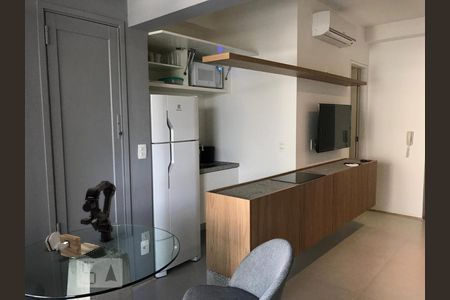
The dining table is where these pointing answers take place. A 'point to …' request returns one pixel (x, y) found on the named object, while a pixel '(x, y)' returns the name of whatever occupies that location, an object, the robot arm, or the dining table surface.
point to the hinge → (53, 241)
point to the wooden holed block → (64, 245)
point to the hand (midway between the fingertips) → (96, 230)
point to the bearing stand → (75, 246)
